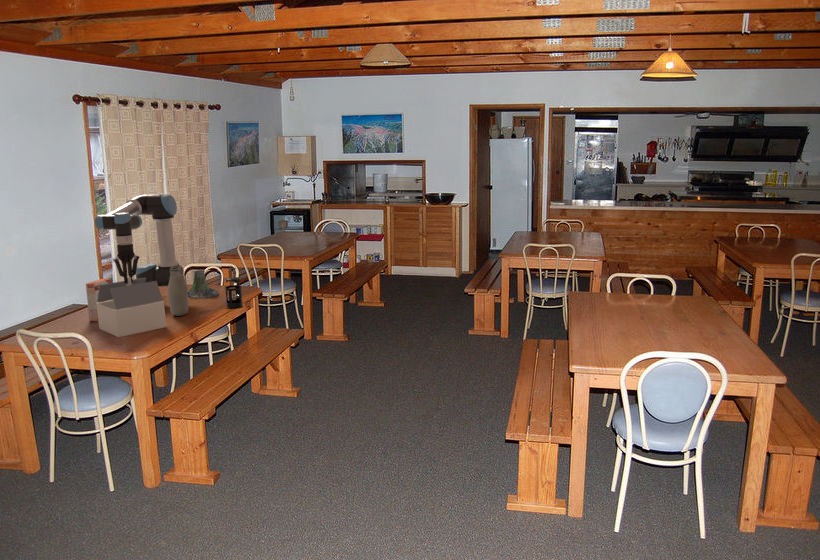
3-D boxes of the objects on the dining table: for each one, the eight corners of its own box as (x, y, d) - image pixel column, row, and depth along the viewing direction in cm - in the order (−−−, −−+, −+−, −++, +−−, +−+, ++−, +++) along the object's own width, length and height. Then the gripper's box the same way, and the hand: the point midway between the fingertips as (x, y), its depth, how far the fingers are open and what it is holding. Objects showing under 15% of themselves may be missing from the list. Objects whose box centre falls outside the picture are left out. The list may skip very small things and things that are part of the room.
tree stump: (191, 300, 416) (186, 271, 416) (185, 302, 434) (180, 273, 433) (221, 295, 424) (216, 267, 424) (215, 297, 442) (210, 269, 442)
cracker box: (98, 322, 369) (94, 283, 364) (88, 321, 370) (84, 283, 366) (115, 315, 382) (111, 278, 378) (105, 314, 383) (101, 278, 379)
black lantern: (238, 309, 392) (235, 270, 387) (222, 309, 393) (220, 269, 389) (246, 304, 403) (244, 266, 398) (231, 304, 405) (229, 265, 400)
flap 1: (100, 285, 347) (99, 284, 348) (97, 301, 353) (97, 301, 353) (145, 278, 364) (145, 277, 365) (142, 293, 370) (142, 293, 370)
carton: (145, 319, 373) (143, 294, 371) (166, 326, 358) (163, 301, 355) (99, 328, 356) (96, 303, 353) (118, 337, 340) (115, 310, 337)
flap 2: (156, 281, 356) (156, 280, 356) (162, 300, 355) (162, 300, 354) (109, 288, 340) (109, 288, 339) (116, 309, 338) (116, 308, 338)
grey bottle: (169, 318, 375) (164, 267, 369) (172, 313, 385) (168, 264, 379) (187, 317, 376) (183, 266, 371) (190, 312, 386) (186, 263, 380)
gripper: (115, 246, 340) (119, 292, 345) (140, 243, 349) (144, 288, 354) (108, 244, 345) (113, 290, 350) (134, 241, 355) (138, 286, 359)
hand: (129, 289), depth 352 cm, fingers closed
